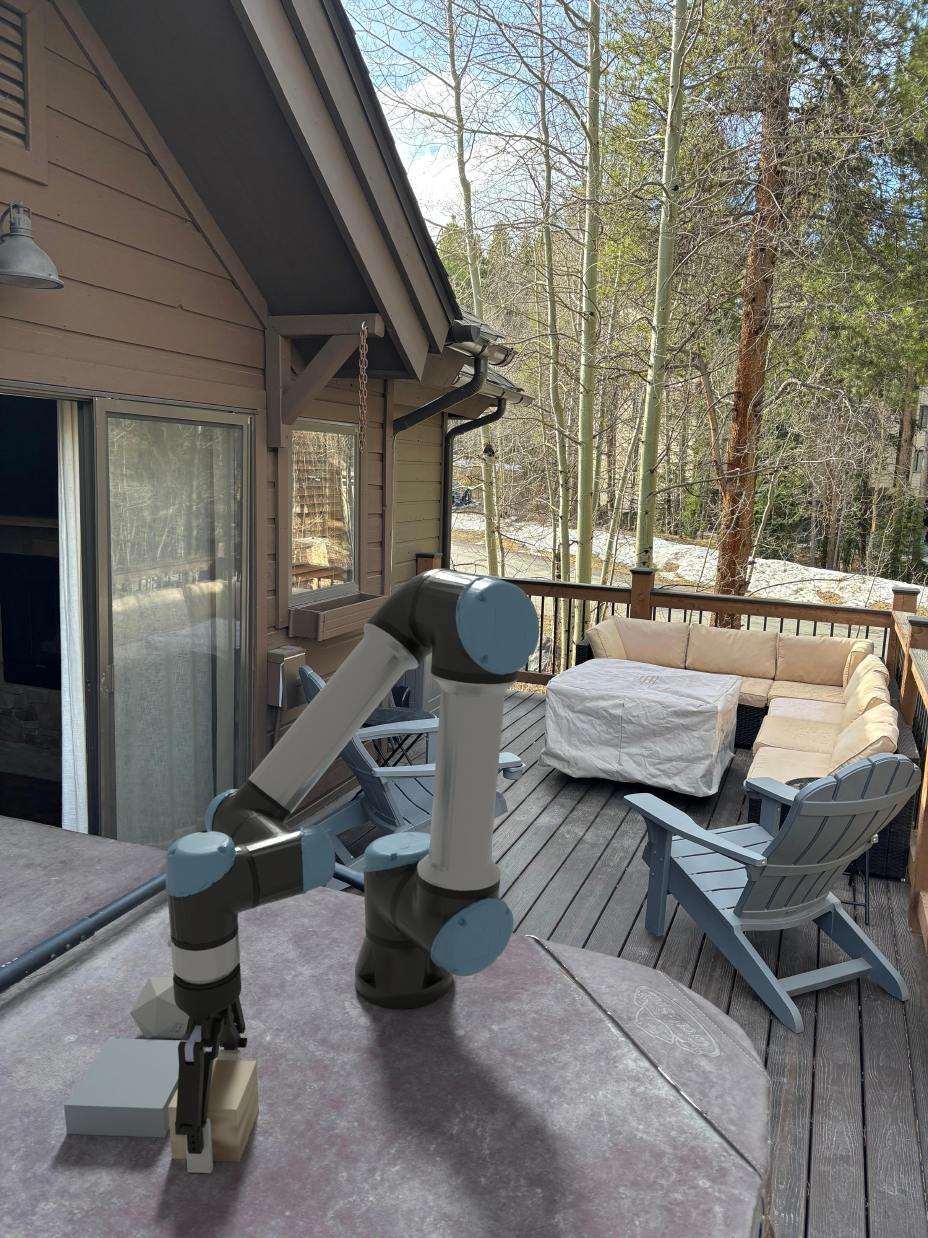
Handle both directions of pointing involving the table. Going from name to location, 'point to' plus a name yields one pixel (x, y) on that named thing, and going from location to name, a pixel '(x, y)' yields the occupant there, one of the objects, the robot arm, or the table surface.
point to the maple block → (225, 1110)
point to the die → (159, 1011)
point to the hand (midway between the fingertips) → (216, 1132)
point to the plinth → (126, 1090)
